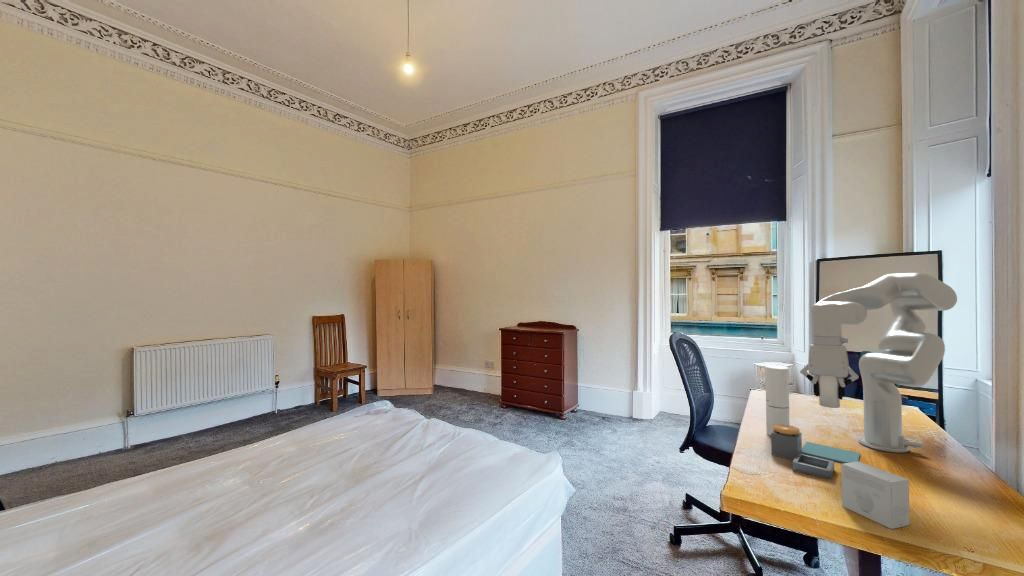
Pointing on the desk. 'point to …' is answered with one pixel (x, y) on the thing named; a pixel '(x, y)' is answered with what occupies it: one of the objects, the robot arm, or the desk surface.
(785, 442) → the plunger housing
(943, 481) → the desk surface
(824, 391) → the cylinder
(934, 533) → the desk surface
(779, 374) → the cylindrical container
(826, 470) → the frame
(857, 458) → the pad
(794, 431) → the plunger
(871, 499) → the skincare box
